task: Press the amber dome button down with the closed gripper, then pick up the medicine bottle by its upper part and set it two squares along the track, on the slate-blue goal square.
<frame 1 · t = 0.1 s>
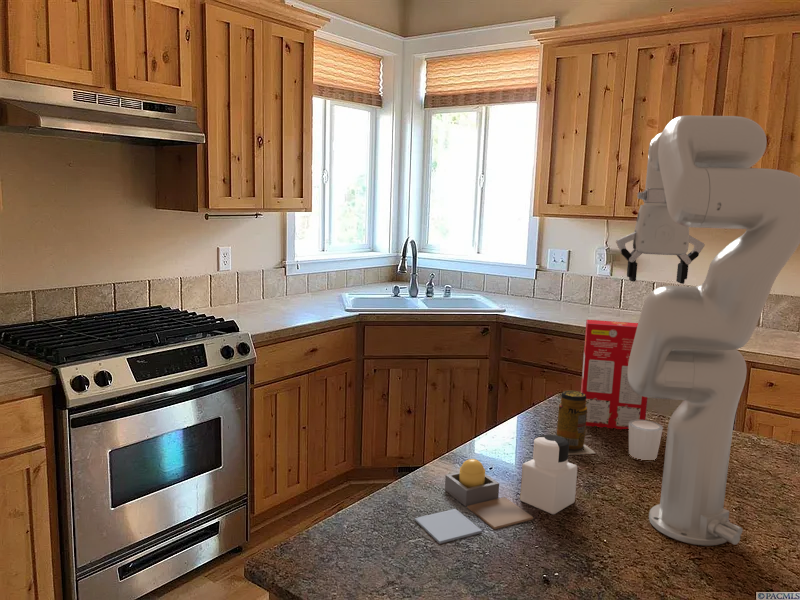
hand: (656, 281, 134), 37 cm above the countertop, tool pointing down, fingers open, 9 cm apart
dome housing: (471, 494, 117), on the countertop
dome: (472, 473, 116), point 4 cm above the countertop, slide at 0.0 cm
white tapered cylinder: (642, 456, 137), on the countertop
food packaging: (610, 425, 156), on the countertop
condiment: (571, 448, 141), on the countertop
medicine bottle: (547, 502, 115), on the countertop
step square: (499, 513, 110), on the countertop
goal square: (447, 526, 106), on the countertop
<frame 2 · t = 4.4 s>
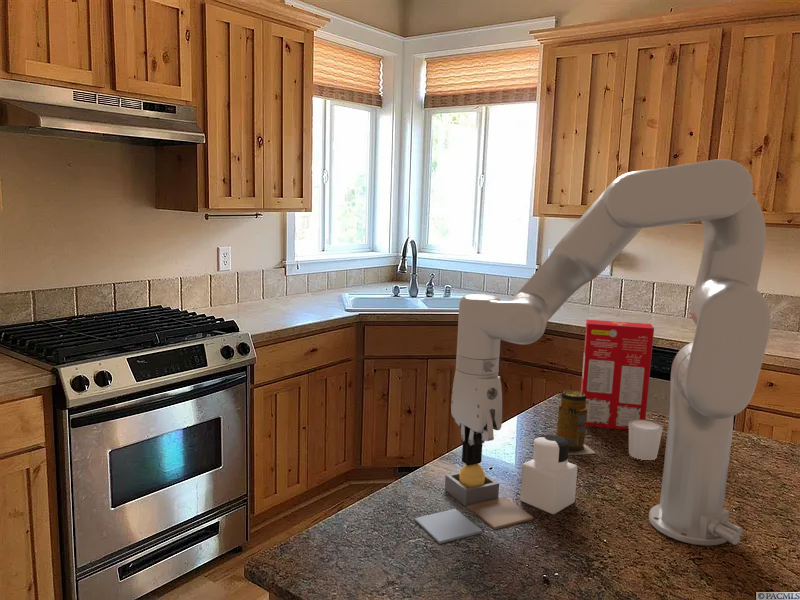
hand: (471, 462, 116), 6 cm above the countertop, tool pointing down, fingers closed
dome: (472, 476, 117), point 4 cm above the countertop, slide at 0.6 cm
everything else where it was.
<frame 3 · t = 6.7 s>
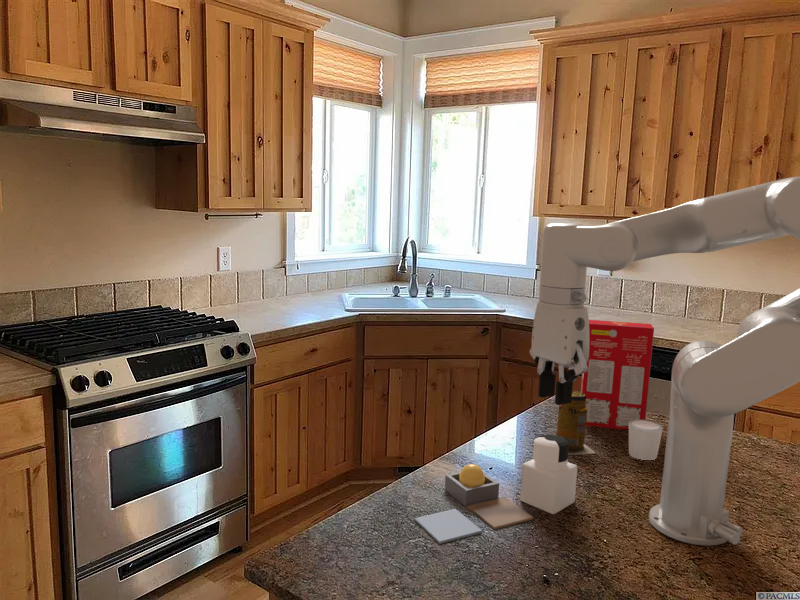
hand: (554, 398, 112), 19 cm above the countertop, tool pointing down, fingers open, 3 cm apart
dome: (472, 478, 117), point 3 cm above the countertop, slide at 1.0 cm
everything else where it was.
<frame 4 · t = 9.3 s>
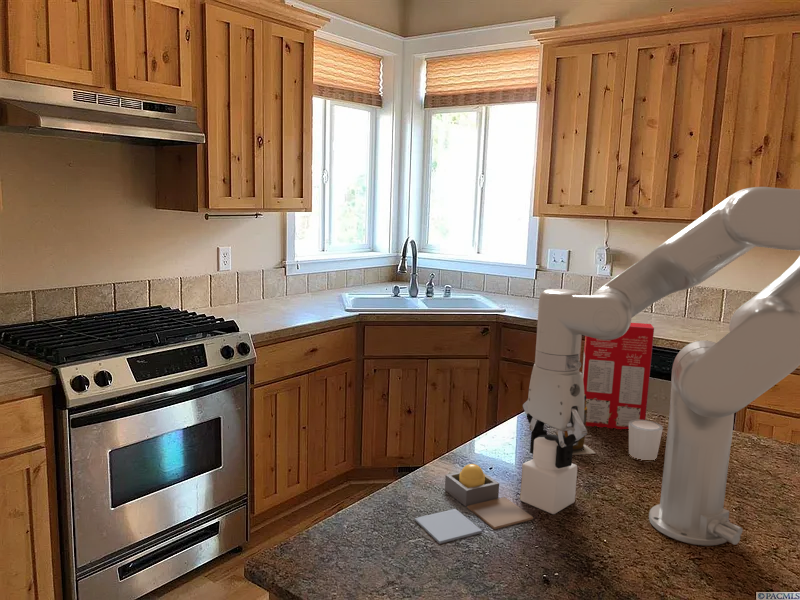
hand: (550, 458, 114), 8 cm above the countertop, tool pointing down, fingers closed on medicine bottle, 6 cm apart
medicine bottle: (547, 502, 115), on the countertop, touching gripper
everything else where it was.
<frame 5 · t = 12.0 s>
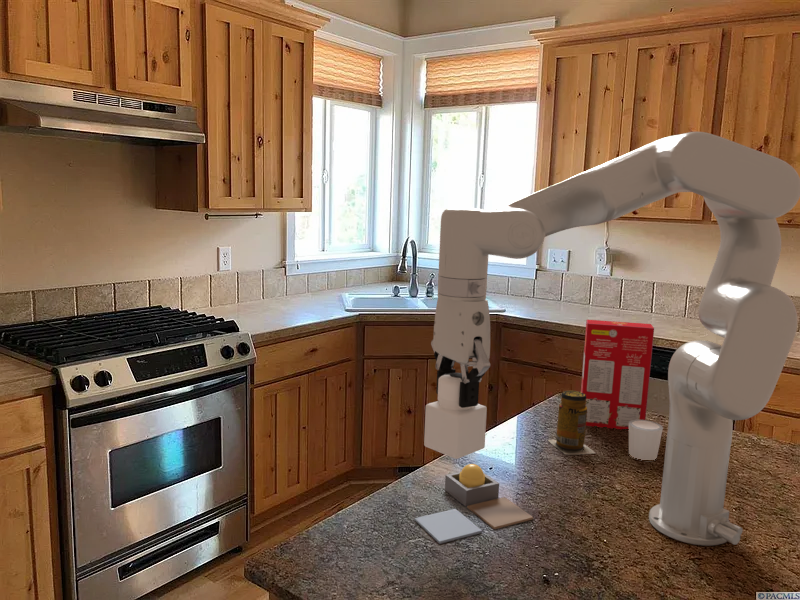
hand: (456, 398, 102), 22 cm above the countertop, tool pointing down, fingers closed on medicine bottle, 6 cm apart
medicine bottle: (454, 448, 104), point 13 cm above the countertop, touching gripper
everything else where it was.
when the fingers open (9 cm above the countertop, at t = 14.8 s): medicine bottle stays where it is, resting on goal square.
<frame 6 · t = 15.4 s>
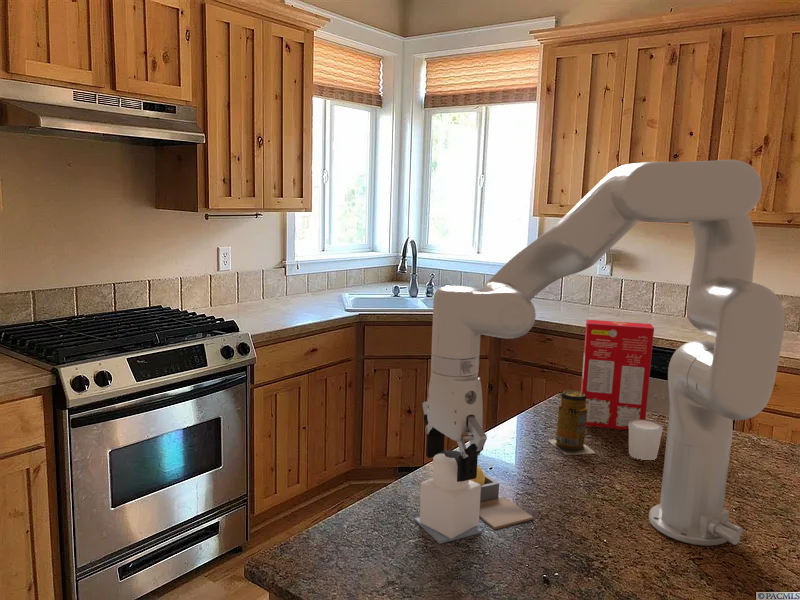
hand: (450, 467, 104), 10 cm above the countertop, tool pointing down, fingers open, 9 cm apart
medicine bottle: (449, 525, 106), resting on goal square
everything else where it was.
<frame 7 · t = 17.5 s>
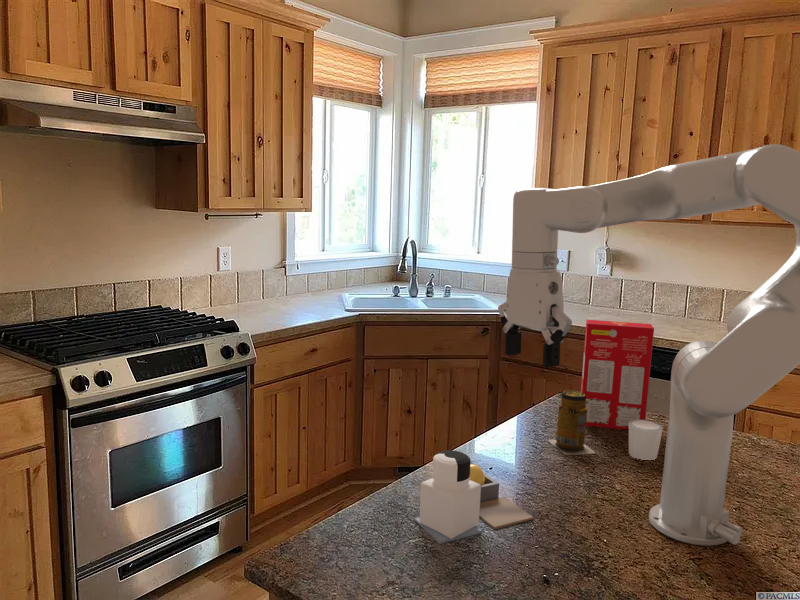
hand: (531, 360, 111), 26 cm above the countertop, tool pointing down, fingers open, 9 cm apart
nothing on the countertop moved.
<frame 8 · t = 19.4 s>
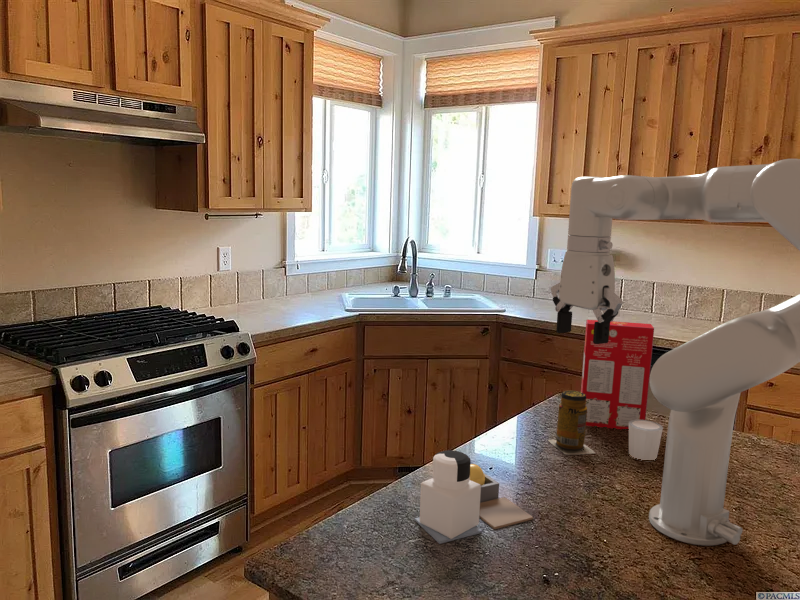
hand: (581, 337, 120), 28 cm above the countertop, tool pointing down, fingers open, 9 cm apart
nothing on the countertop moved.
at the end: medicine bottle inside the target area on the goal square (0.2 cm from its centre), point 0.2 cm above the goal square's base; medicine bottle tilted 0°; the gripper is holding nothing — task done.
